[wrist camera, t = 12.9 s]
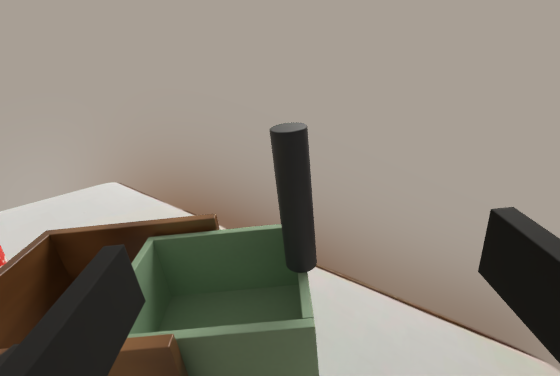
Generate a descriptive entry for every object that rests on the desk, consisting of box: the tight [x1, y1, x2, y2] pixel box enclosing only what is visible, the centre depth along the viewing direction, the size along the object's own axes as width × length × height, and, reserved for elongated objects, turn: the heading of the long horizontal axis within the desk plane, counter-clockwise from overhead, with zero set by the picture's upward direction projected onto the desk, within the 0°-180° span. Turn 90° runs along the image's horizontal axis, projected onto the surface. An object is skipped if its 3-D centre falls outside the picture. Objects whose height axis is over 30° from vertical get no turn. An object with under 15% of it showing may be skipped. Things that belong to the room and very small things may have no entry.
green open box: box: [127, 123, 319, 376], centre depth 20 cm, size 13×10×16 cm
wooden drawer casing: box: [0, 214, 219, 376], centre depth 22 cm, size 15×13×8 cm
